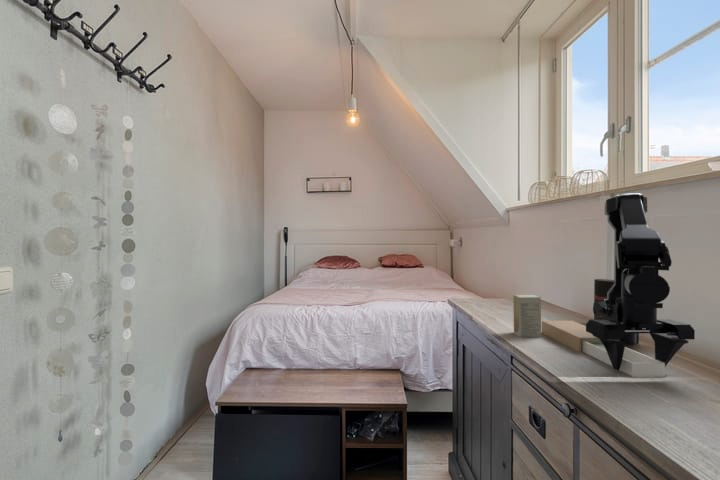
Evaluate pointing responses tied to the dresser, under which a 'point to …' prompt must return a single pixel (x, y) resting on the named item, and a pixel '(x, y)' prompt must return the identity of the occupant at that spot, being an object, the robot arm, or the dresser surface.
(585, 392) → the dresser surface
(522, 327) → the skincare box
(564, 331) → the sleeve
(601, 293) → the deodorant
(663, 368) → the tray
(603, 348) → the soap bar
